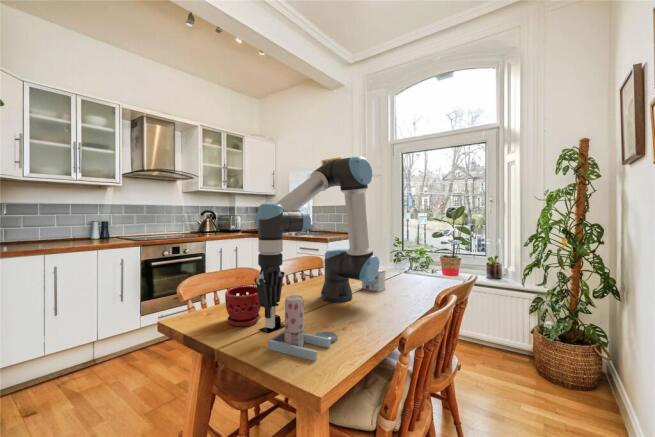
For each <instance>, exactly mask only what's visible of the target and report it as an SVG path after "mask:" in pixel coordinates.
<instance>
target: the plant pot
mask: <svg viewBox="0 0 655 437" xmlns="http://www.w3.org/2000/svg"><path fill="white" fill-rule="evenodd" d="M247 293H248V294H247ZM224 294H225V295H224V296H225V297H224V298H225V300H224V301H225V308H226V311H227V312H226V313H227V315H228V317H227V321H228V323H229V324H230V325H232V326H236V327H246V326H251V325H254V324H255V323H257V322H258V321H259V320H260V318H261V315H260V313H259V312H260V310H261V308H262V307H260V304H259V298H258V292H257V286H256V285H255V286H254V285H241V286H235V287H232V288H229V289H227V290H226V291H225V292H224ZM237 294H239V295H237Z"/></svg>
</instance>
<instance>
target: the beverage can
mask: <svg viewBox="0 0 655 437" xmlns="http://www.w3.org/2000/svg"><path fill="white" fill-rule="evenodd" d="M304 304H305V301H304V297H303V296H302V295H297V294H296V295H295V294H294V295H288V296H285V300H284V324H285V327H284V330H285V340H284V343H286V344H290V345H294V346H299V347H303V348H304V342H303V333H304V316H305V315H304V307H305V306H304Z"/></svg>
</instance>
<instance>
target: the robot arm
mask: <svg viewBox="0 0 655 437" xmlns="http://www.w3.org/2000/svg"><path fill="white" fill-rule="evenodd" d="M372 180H373V170H372V166H371V164H370V162H369V161H368V159H367V158H365V157H363V156H351V157H344V158H338V159H331V160H329V161H327V162H326V163H324V164H322V165H320V166H319V167H318V168H317V169H315V170H313V171H312V172H311V173H310V175H309V177H308V178H307V179H306V180H304V181H303V182H302V183H300V184H299V185H298V186H297V187H295V188H294V189H293V190H291V191H290V192H289V193H287V194H286V195H284V196H283V197H282V198H281V199H280V200H278V201H277V202H276V203H261V204H260V205H259V206H258V211H257V212H256V213H255V214H254V215H255V216H254V219H253V220H254V221H253V222H254V224H255V226H256V228H257V231H258V232H257V233H258V239H257V240H258V245H257V246H258V248H257V250H258V252H259V254H258V255H257V257H258V258H257V263H258V264H257V266H259V267H260V271H259V276H258V277H255V278H254V281H253V282H254V283H255V286H256V287H257V292H258V298H259V304H260V307H261V308H264V327H267V328H274V327H275V314H276V307H279V303H280V302H281V296H282V288H283V280H284V277H285V275H286V273H285V271H282V270H281V266H282V265H283V253H282V252H283V247H284V245H283V244H284V242H283V239H284V238H283V237H284V236H283V234H290V233H304V232H306V231H308V230H309V229H310V227H311V224H312V218H311V215H310V213H308V212H307V211H306V210H300V209H301V208H303V207H304V206H305V205H306V204H307V203H308V202H310V201H311V200H313V198H314V197H315V196H317V195H318V194H320V193H321V192H325V191H326V190H327V189H329V188H333V187H339V188H340V192H341V193H342V194H343V195H344V201H345V202H344V204H345V214H346V222H347V223H346V225H347V234H348V235H347V236H348V246H349V248H341V249H339V248H338V249H331V250H330V249H329V250H327V251H326V252H325V253H324V258H323V259H324V261H323V262H324V283H323V285H322V288H321V291H320V300H323V301H325V302H330V303H345V302H349V301H351V300H353V291H352V288H351V285H350V279H351V280H355V281H359V282H362V281H366V282H370V281H372V280H373V279H374V278H375V277H376V275H377V273H378V270H379V269H380V259H379V257H378V256H377V255H374V249H373V248H372V247H370V243H369V242H370V241H369V229H368V220H367V217H368V216H367V207H366V206H367V205H366V194H365V192H366V191H367V189H368V188H369V187H368V185H369V184H370V183H371V181H372Z"/></svg>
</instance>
